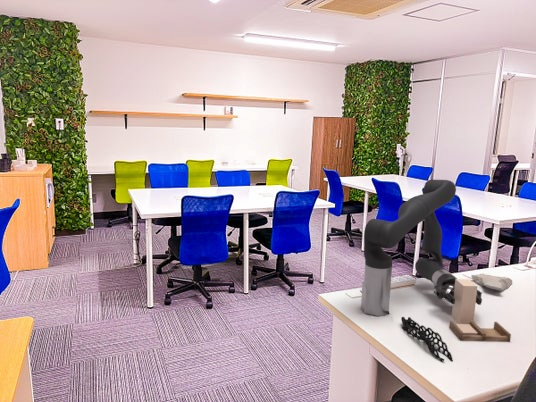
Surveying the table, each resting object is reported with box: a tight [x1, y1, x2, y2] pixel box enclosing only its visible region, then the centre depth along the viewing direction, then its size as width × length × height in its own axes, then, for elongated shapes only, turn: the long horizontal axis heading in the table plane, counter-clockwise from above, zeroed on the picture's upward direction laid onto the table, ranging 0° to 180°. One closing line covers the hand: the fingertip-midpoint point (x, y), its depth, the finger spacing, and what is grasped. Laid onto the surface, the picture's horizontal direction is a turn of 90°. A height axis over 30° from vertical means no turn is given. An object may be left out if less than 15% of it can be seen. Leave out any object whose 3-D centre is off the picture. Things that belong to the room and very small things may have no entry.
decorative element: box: [400, 316, 454, 363], centre depth 121 cm, size 22×5×6 cm, turn 14°
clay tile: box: [455, 323, 478, 335], centre depth 126 cm, size 4×6×2 cm
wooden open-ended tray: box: [448, 320, 512, 343], centre depth 126 cm, size 15×8×4 cm, turn 89°
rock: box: [471, 273, 513, 291], centre depth 168 cm, size 21×5×15 cm
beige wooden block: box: [451, 278, 478, 325], centre depth 133 cm, size 4×6×15 cm
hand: (467, 301), depth 131 cm, fingers open, 8 cm apart
